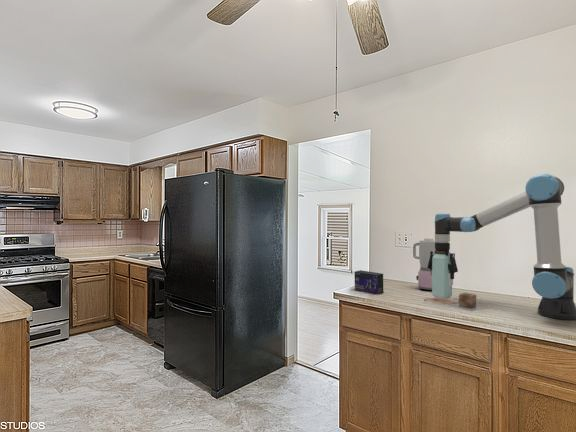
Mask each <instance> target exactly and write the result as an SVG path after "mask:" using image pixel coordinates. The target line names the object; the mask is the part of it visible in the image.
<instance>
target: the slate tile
mask: <svg viewBox="0 0 576 432" xmlns="http://www.w3.org/2000/svg"><path fill="white" fill-rule="evenodd" d="M448 306H449V307H453V308H457V309H462V310H466V311H469V312H474V311H480V310H485V309H487V307H485V306H481V305H477V304H476V307H474V308H472V309H471V308H465V307H460V306H459V302H456V303H450V304H448Z"/></svg>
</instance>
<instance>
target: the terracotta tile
mask: <svg viewBox="0 0 576 432" xmlns="http://www.w3.org/2000/svg"><path fill="white" fill-rule="evenodd" d="M423 301H424V302H426V301H430V302H433V303H438V304H440V305H450V304H456V303H459V300H455V299H453V298H448V299H442V298H436V297H434V296H433V297H430V298H429V297H428V298H424V299H423Z"/></svg>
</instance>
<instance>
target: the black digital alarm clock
mask: <svg viewBox="0 0 576 432" xmlns="http://www.w3.org/2000/svg"><path fill="white" fill-rule="evenodd" d="M354 290H355V291H357V290H358V291H359V292H362V291H363V292H364V293H367V292H368V293H367V294H372V295H377V296H378V295H382V294H384V273H380V272H374V271H370V270H369V271H368V270H361V269H360V270H356V271H354ZM358 291H357V292H358Z"/></svg>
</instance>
